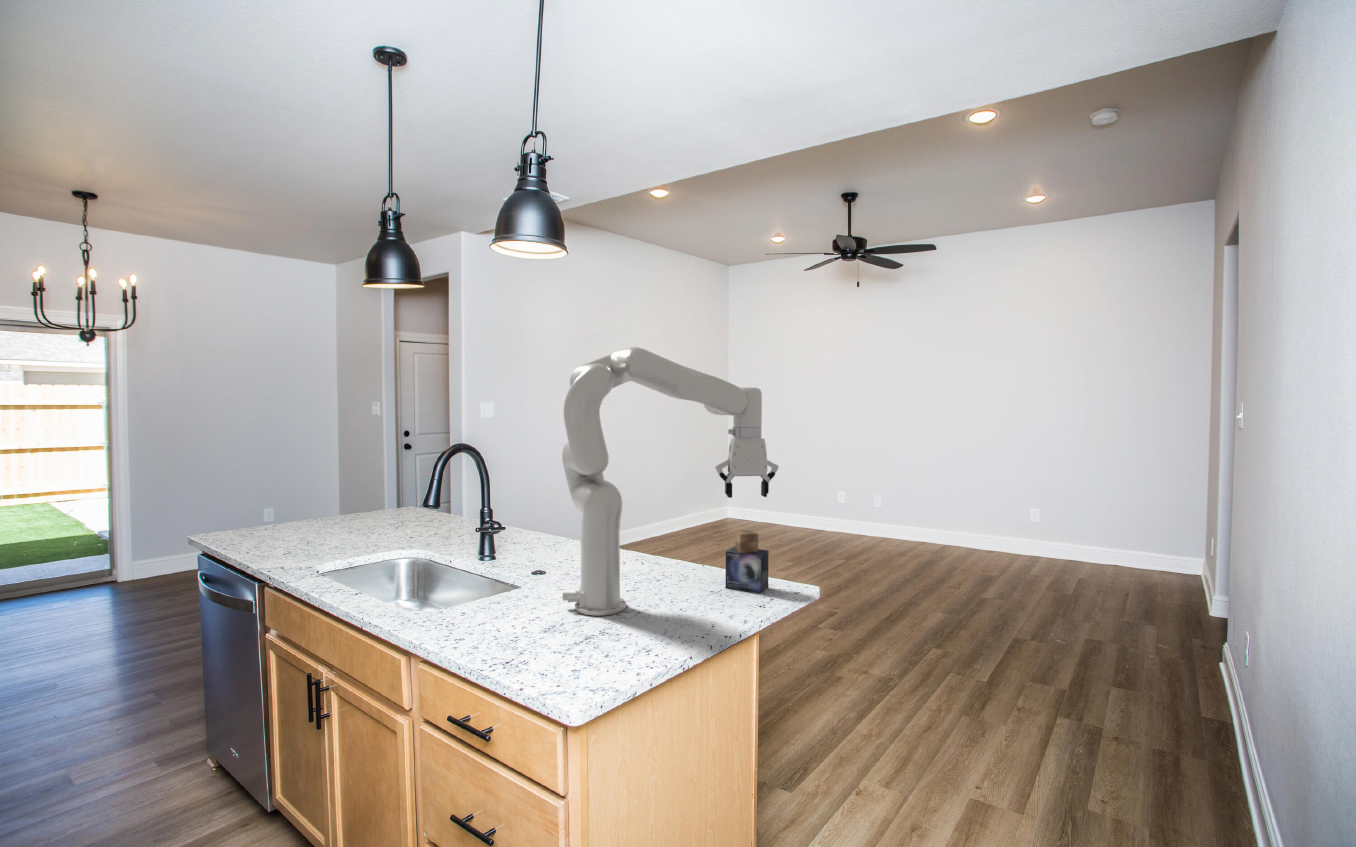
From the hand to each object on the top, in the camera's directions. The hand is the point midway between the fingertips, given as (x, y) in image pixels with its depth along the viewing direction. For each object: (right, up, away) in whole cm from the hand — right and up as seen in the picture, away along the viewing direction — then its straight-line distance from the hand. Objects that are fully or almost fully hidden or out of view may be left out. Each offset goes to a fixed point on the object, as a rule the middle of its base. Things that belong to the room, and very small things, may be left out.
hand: (746, 496), depth 177 cm
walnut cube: (0, -15, +1) cm, 15 cm away
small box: (0, -25, +1) cm, 25 cm away
